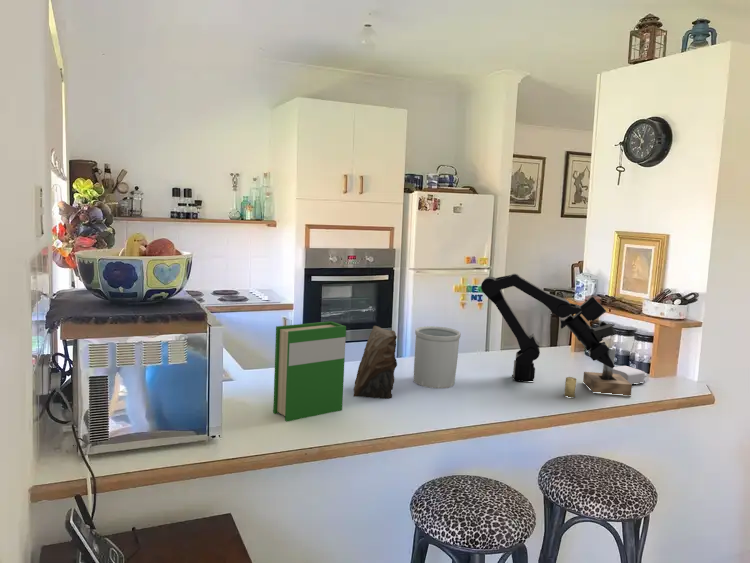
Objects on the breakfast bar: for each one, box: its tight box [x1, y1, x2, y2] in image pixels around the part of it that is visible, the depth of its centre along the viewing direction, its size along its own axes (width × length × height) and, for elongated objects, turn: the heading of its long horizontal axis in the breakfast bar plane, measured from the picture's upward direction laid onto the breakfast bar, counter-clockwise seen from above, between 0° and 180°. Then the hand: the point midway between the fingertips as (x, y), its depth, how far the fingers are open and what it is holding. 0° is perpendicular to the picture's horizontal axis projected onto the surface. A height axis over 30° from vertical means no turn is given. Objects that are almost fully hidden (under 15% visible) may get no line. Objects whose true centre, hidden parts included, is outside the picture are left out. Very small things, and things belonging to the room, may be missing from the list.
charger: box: [613, 365, 648, 384], centre depth 211 cm, size 5×9×15 cm
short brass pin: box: [563, 376, 577, 397], centre depth 189 cm, size 3×3×6 cm
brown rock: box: [353, 325, 398, 400], centre depth 181 cm, size 13×13×20 cm
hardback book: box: [272, 320, 347, 423], centre depth 161 cm, size 18×7×24 cm, turn 128°
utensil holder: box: [413, 325, 461, 389], centre depth 195 cm, size 15×15×18 cm
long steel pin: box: [601, 346, 617, 380], centre depth 198 cm, size 3×3×12 cm
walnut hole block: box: [582, 371, 633, 396], centre depth 199 cm, size 12×12×4 cm
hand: (612, 365), depth 198 cm, fingers closed on long steel pin, 3 cm apart
